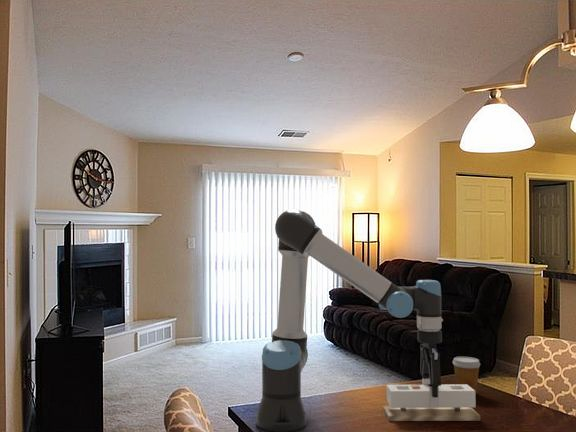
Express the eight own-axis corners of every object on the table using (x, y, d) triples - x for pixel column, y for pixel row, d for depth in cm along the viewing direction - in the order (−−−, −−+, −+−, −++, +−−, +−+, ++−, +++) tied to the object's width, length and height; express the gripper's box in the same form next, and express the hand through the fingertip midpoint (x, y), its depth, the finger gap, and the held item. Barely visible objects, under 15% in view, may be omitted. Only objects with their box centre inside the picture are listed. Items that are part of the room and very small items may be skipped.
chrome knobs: (401, 414, 159) (400, 392, 160) (399, 412, 161) (399, 390, 161) (461, 414, 159) (460, 392, 160) (459, 412, 161) (458, 390, 162)
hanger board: (388, 420, 156) (388, 415, 156) (383, 410, 165) (383, 406, 165) (480, 420, 156) (480, 415, 156) (469, 410, 165) (469, 405, 165)
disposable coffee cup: (485, 392, 184) (484, 359, 184) (474, 399, 177) (474, 364, 177) (459, 387, 190) (458, 355, 191) (448, 393, 183) (448, 359, 183)
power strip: (391, 407, 157) (391, 389, 157) (386, 400, 164) (386, 382, 164) (475, 407, 157) (475, 388, 157) (467, 400, 164) (467, 382, 164)
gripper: (451, 335, 151) (453, 413, 150) (432, 323, 171) (433, 393, 170) (426, 335, 151) (427, 414, 150) (409, 324, 171) (410, 393, 170)
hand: (430, 402), depth 160 cm, fingers closed on power strip, 7 cm apart
